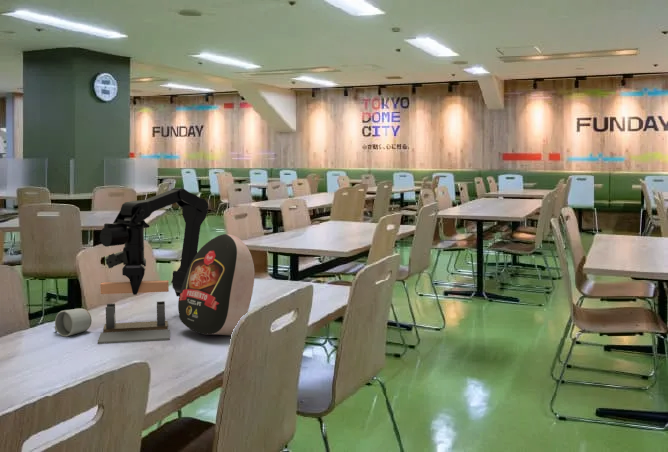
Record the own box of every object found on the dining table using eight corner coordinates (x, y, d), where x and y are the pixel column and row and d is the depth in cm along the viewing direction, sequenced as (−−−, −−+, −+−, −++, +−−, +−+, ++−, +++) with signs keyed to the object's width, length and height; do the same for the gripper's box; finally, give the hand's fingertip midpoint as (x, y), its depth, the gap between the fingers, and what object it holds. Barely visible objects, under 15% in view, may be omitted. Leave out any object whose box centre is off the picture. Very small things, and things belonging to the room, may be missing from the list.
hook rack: (167, 323, 219) (167, 300, 219) (167, 329, 213) (167, 305, 212) (105, 326, 215) (104, 303, 214) (103, 332, 208) (102, 308, 207)
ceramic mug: (94, 331, 209) (93, 306, 208) (73, 338, 202) (71, 312, 201) (68, 328, 214) (67, 303, 213) (47, 334, 206) (46, 309, 206)
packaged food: (168, 332, 209) (166, 234, 205) (219, 321, 223) (218, 229, 220) (214, 346, 194) (213, 241, 191) (265, 333, 209) (265, 235, 206)
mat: (169, 331, 210) (169, 329, 210) (169, 339, 201) (169, 337, 201) (100, 334, 206) (100, 332, 205) (97, 343, 196) (97, 341, 196)
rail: (168, 289, 216) (168, 280, 215) (168, 291, 213) (168, 282, 212) (101, 292, 211) (101, 282, 211) (100, 294, 208) (100, 284, 208)
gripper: (109, 239, 217) (110, 288, 219) (103, 248, 199) (105, 300, 201) (145, 239, 220) (146, 287, 222) (143, 247, 202) (144, 299, 204)
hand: (135, 293), depth 212 cm, fingers closed on rail, 3 cm apart
